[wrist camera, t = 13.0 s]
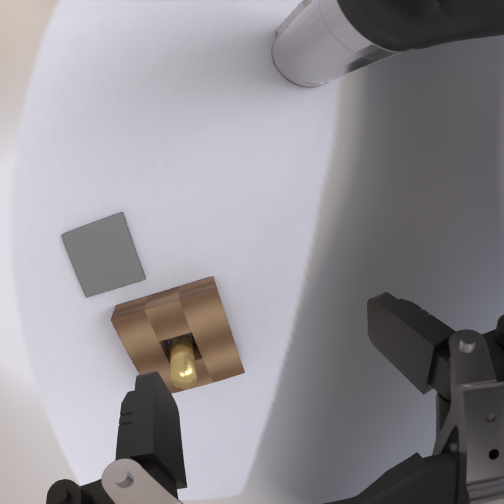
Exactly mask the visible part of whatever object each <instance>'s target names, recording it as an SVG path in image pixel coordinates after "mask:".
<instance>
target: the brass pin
mask: <svg viewBox="0 0 504 504" xmlns="http://www.w3.org/2000/svg"><path fill="white" fill-rule="evenodd" d="M170 364H171V382H172V384H173V385H174V386H175V387H177V388H180V389H188V388H191V387H193V386H194V385H195V384H196V382H197V375H196V368H195V360H194V352H193V344H192V336H191V332H190V333H187V334H184V335H180V336H177V337H173V338H170Z"/></svg>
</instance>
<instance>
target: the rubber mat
mask: <svg viewBox="0 0 504 504" xmlns="http://www.w3.org/2000/svg"><path fill="white" fill-rule="evenodd" d="M61 236H62V239H63V242H64V244H65V247H66V250H67V253H68V255H69V258H70V260H71V263H72V265H73V268H74V270H75V273H76V275H77V277H78V280H79V282H80V285H81V287H82V289H83V291H84V294H85V296H86V298H87V297H90V296H93V295H97V294H100V293H103V292H106V291H110V290H113V289H116V288H119V287H123V286H126V285H129V284H132V283H135V282H139V281H142V280H145V279H146V277H145V275H144V272H143V269H142V267H141V264H140V261H139V258H138V256H137V253H136V250H135V247H134V244H133V241H132V239H131V236H130V233H129V230H128V227H127V223H126V220H125V217H124V214H123V212H121V213H118V214H115V215H112V216H110V217H107V218H104V219H101V220H99V221H96V222H93V223H90V224H88V225H85V226H82V227H80V228H77V229H75V230H72V231H69V232H67V233H64V234H62V235H61Z"/></svg>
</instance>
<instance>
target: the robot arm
mask: <svg viewBox="0 0 504 504" xmlns="http://www.w3.org/2000/svg"><path fill="white" fill-rule="evenodd" d="M276 33H277V38H276V40H275V42H274V44H273V48H272V56H273V60H274V63H275V65H276V67H277V69H278V70H279V71H280V73H281V74H282V75H283V76H284V77H286V78H287V79H288V80H290V81H291V82H293V83H295V84H298V85H300V86H305V87H315V86H320V85H322V84H325V83H327V82H330V81H331V80H333V79H336V78H338V77H340V76H343V75H345V74H347V73H349V72H352V71H354V70H357V69H359V68H362V67H364V66H367V65H369V64H372V63H374V62H377V61H380V60H382V59H385V58H388V57H390V56H393V55H396V54H399V53H402V52H404V51H407V50H410V49H423V48H428V47H431V46H436V45H439V44H444V43H449V42H454V41H460V40H467V39H475V38H484V37H491V36H499V35H504V0H303V1H302V2H301V3H300V4H299V5H298V6H297V7H296V8H295V9H294V10H293V11H292V13H291V14H290V15H289V16H288V17H287V18H286V19H285V21H284V22H283V23H282V24H281V25H280V26H279V27H278V29H277V30H276ZM367 312H368V335H369V338H370V340H371V342H372V344H373V345H374V346H375V347H376V348H377V349H378V350H379V351H380V352H381V353H382V354H383V355H384V356H385V357H386V358H387V359H388V360H389V361H390V362H391V363H392V364H393V365H394V366H395V367H396V368H397V369H398V370H399V371H400V372H401V373H402V374H403V375H404V376H405V377H406V378H407V379H408V380H409V381H410V382H411V383H412V384H413V385H414V386H415V387H416V388H417V389H418V390H419V391H420V392H422V394H423V395H424V394H425V393H427V392H428V391H430V390H431V389H433V388H434V389H435V390H436V391H437V393H436V440H435V444H434V448H433V453H432V456H428V457H424V458H422V457H421V456H420V455H419V454H418V453H415V454H414V455H412V456H411V457H409V458H408V459H406V460H404V461H403V462H401V463H399V464H398V465H396V466H395V467H393V468H391V469H389V470H388V471H386V472H385V473H384V474H383V475H382V476H381V477H379V478H378V479H377V480H376V481H375V482H374V483H372V484H371V485H370V486H369V487H368V488H366V489H365V490H364V491H363V492H361V493H360V494H359V495H357V496H355V497H353V498H348V499H344V500H340V501H335V502H330V503H325V504H504V315H502V316H501V317H500V318H499V320H498V323H497V327H496V329H495V330H493V331H490V332H488V333H485V334H482V335H481V334H480V333H479V332H477V331H474V330H468V329H465V330H459V331H457V332H456V331H454V330H453V329H451V328H450V327H449V326H447V325H446V324H444V323H443V322H441V321H440V320H438V319H437V318H435V317H434V316H432V315H429V313H428V312H426V311H425V310H422V308H421V307H419V306H418V305H416V304H414V303H413V302H410V301H407V300H403V299H399V300H398V299H397V298H395V297H394V296H392V295H391V294H389V293H388V292H384V293H382V294H380V295H377V296H375V297H373V298H370V299H369V300H368V303H367ZM120 415H121V416H120V420H119V424H120V426H119V428H118V438H117V448H116V459H115V461H114V462H112V463H111V464H109V465H108V466H107V467H106V469H105V470H104V472H103V474H102V479H100V480H97V481H95V482H92V483H89V484H86V485H83V486H79V485H77V484H76V483H75V482H73V481H71V480H68V479H63V480H59V481H57V482H55V483H54V484H53V485H52V486H51V487H50V489H49V491H48V493H47V501H46V504H183V503H182V502H181V501H180V500H178V494H177V489H181V488H187V482H186V474H185V467H184V458H183V449H182V440H181V430H180V418H179V411H178V407H177V405H176V402H175V400H174V398H173V396H172V395H171V393H170V391H169V390H168V388H167V386H166V384H165V383H164V381H163V379H162V377H161V376H160V374H159V373H158V372H157V371H154V372H150V373H146V374H142V375H138V376H137V377H136V383H135V391H130V392H128V393H127V395H126V396H125V398H124V400H123V402H122V404H121V412H120Z"/></svg>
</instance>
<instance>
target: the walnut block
mask: <svg viewBox="0 0 504 504" xmlns="http://www.w3.org/2000/svg"><path fill="white" fill-rule="evenodd" d="M111 322H112V324H113V326H114V328H115V330H116V332H117V334H118V336H119V338H120V339H121V341H122V343H123V345H124V347H125V349H126V351H127V353H128V354H129V356H130V358H131V360H132V362H133V363H134V365H135V367H136V369H137V370H138V372H139V374H140V375H142V374H146V373H150V372H154V371H157V372H158V373H159V374H160V376H161V377H162V379H163V381H164V383H165V384H166V386H167V388H168V390H169V391H170V393H171V394H172V393H176V392H180V391H184V390H188V389H191V388H195V387H199V386H202V385H206V384H210V383H213V382H217V381H220V380H223V379H227V378H230V377H233V376H236V375H240V374H243V373H245V371H244V368H243V366H242V363H241V360H240V357H239V354H238V351H237V348H236V345H235V342H234V339H233V336H232V333H231V330H230V327H229V324H228V321H227V318H226V315H225V312H224V309H223V306H222V303H221V300H220V296H219V293H218V290H217V287H216V284H215V281H214V278H213V277H209V278H206V279H203V280H200V281H196V282H193V283H190V284H186V285H183V286H180V287H177V288H173V289H170V290H167V291H163V292H160V293H157V294H153V295H150V296H147V297H143V298H140V299H137V300H133V301H130V302H126V303H123V304H120V305H116V307H115V310H114V312H113V315H112V318H111ZM190 332H192V334H193V337H194V339H195V341H196V344H193V352H194V360H195V368H196V375H197V382H196V384H195V385H194V386H193V387H191V388H188V389H180V388H177V387H175V386H174V385H173V384H172V382H171V364H170V347H169V345H168V343H167V340H166V339H169V338H173V337H177V336H180V335H184V334H187V333H190Z"/></svg>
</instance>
